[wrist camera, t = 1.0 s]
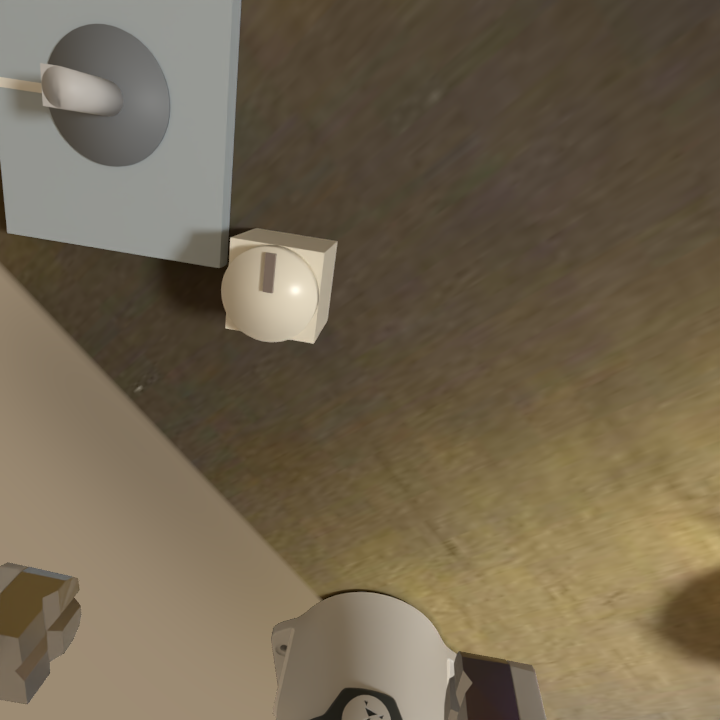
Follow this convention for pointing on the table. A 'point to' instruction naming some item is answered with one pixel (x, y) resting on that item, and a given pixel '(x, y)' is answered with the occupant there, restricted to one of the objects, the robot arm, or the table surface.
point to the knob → (278, 285)
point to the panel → (120, 123)
